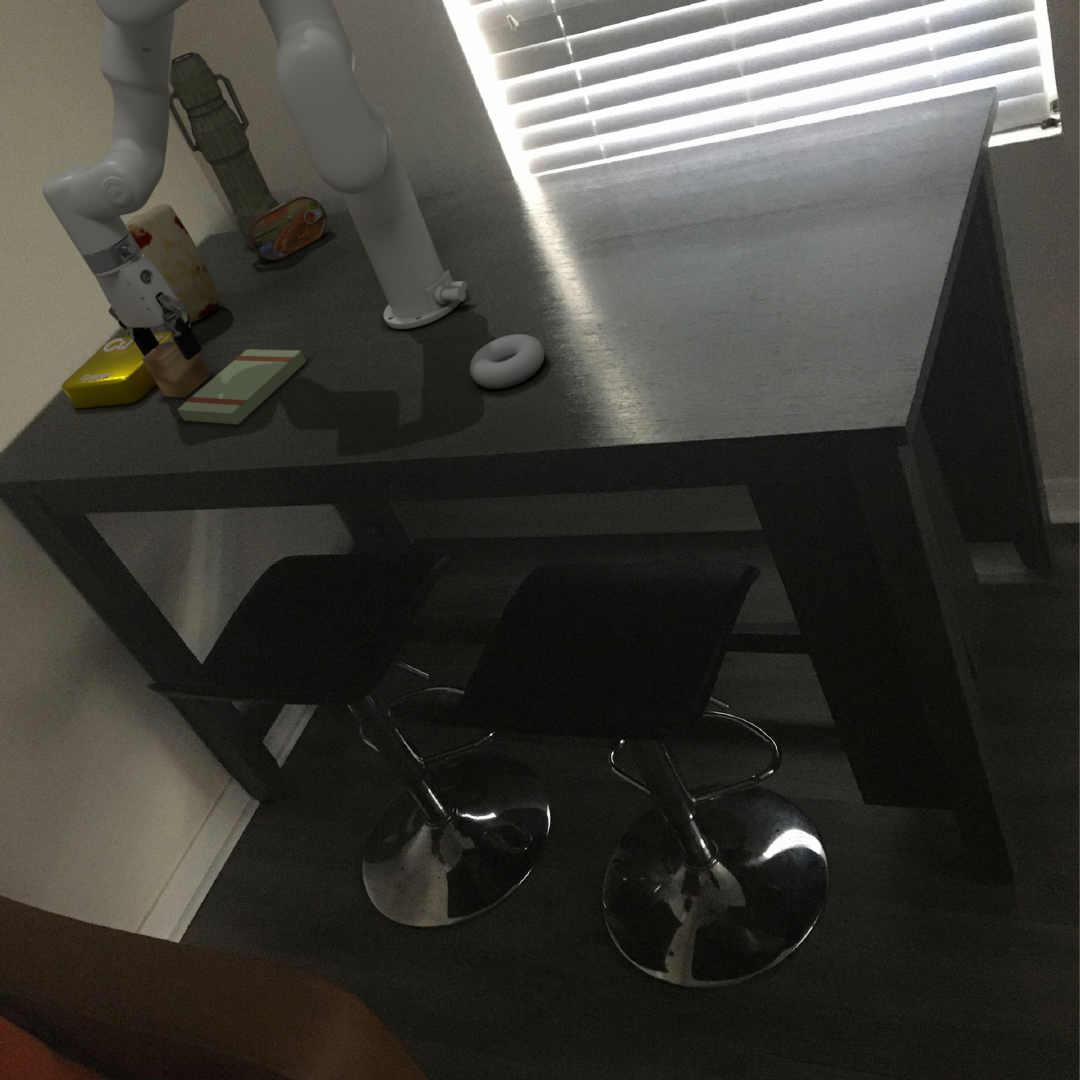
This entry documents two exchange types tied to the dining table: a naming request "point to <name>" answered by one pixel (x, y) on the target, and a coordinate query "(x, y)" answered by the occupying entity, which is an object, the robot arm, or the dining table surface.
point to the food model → (175, 259)
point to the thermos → (220, 137)
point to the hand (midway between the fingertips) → (174, 354)
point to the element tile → (112, 376)
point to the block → (175, 369)
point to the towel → (242, 386)
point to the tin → (287, 227)
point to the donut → (507, 361)
